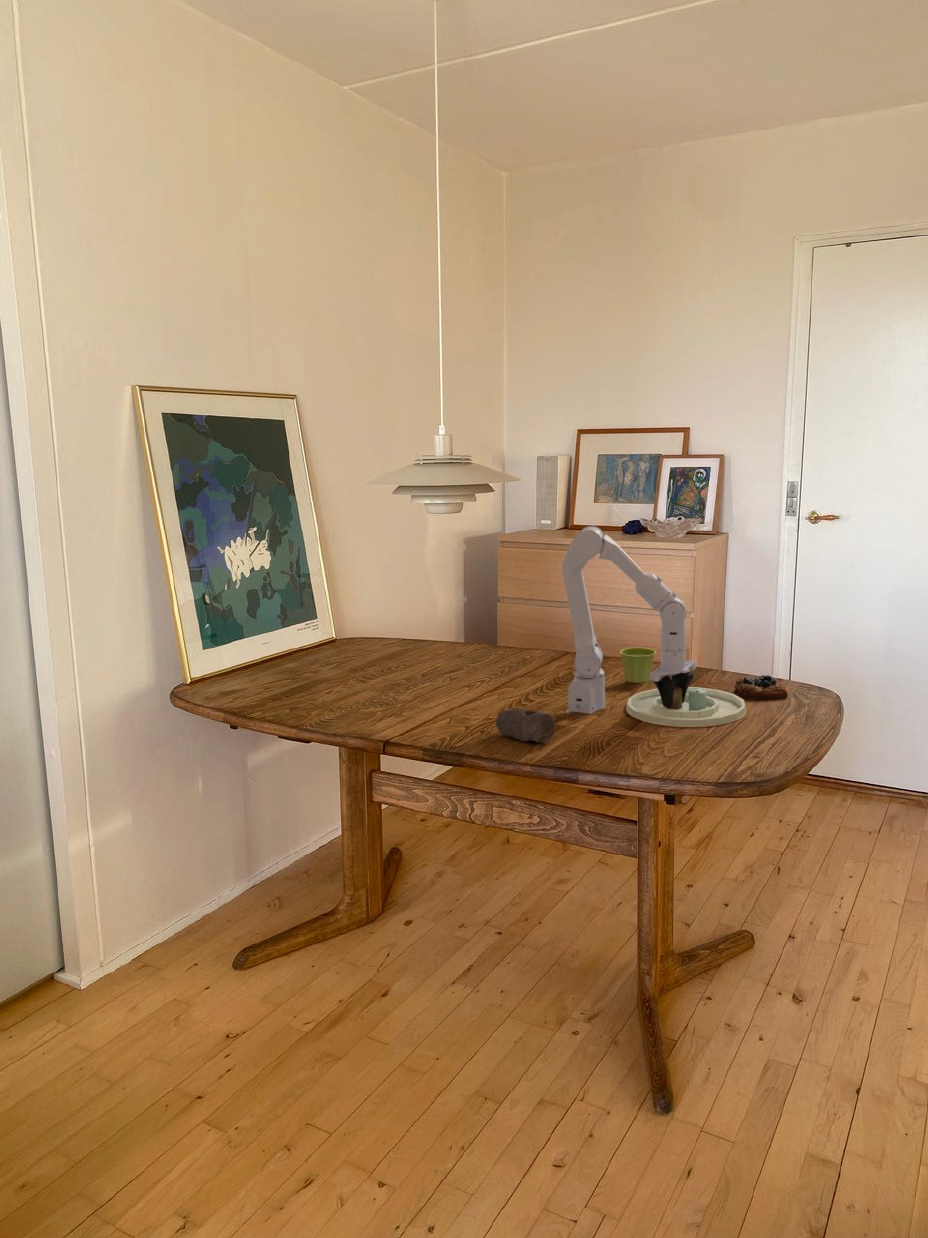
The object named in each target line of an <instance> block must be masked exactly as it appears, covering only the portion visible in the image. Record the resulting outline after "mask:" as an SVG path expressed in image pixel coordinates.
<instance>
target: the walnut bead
mask: <svg viewBox="0 0 928 1238" xmlns="http://www.w3.org/2000/svg"><path fill="white" fill-rule="evenodd" d="M665 708H667V709H680V708H682V688H681V687H676V686H675V688H674V692H673V703H672V707H670V708H669V707H665Z"/></svg>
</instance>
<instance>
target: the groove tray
mask: <svg viewBox="0 0 928 1238" xmlns="http://www.w3.org/2000/svg"><path fill="white" fill-rule="evenodd" d="M694 689H701V690H705V691H706V692H707V709H702V710H697V711H689V691H690V690H694ZM625 709H626V712H627V714H629V716H631V717H633V718H634V719H637V720H639V721H642V722H645V723H649V724H654V725H658V726H659V725H661V726H667V727H677V728H678V727H680V728H682V727H683V728H700V727H701V728H703V727H712V726H719V725H724V724H728V723H732V722H735V721H738V720H740V719H742V718H743V717H744V716H746V713H747V708H746V702H745V699H743V698H740V697H739V696H737V695H736V694H734V693H731V692H727V691H724V690H719V689H715V688H707V687H706V688H705V687H698V686H696V687H695V686H688V689H687V692H686V696H685V700H684V703H682V708H680V709H667V708H665V706H663V703H662V699H661V696H660V693H659V690H658V688H652V689H649V690H643V691H639V692H637V693H635V694H634V695H632V696H630V697H628V698H627V704H626V707H625Z"/></svg>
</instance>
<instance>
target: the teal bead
mask: <svg viewBox="0 0 928 1238" xmlns="http://www.w3.org/2000/svg"><path fill="white" fill-rule="evenodd" d="M702 709H707V692H706V691H705V690H701V689H694V690H690V691H689V711H697V710H702Z"/></svg>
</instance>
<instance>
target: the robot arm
mask: <svg viewBox="0 0 928 1238" xmlns="http://www.w3.org/2000/svg"><path fill="white" fill-rule="evenodd" d="M598 554H599V556H598V559H600V560H601V559H602V560H607V561H611V562H612V563H613V564H615V566H616V567H618V568H619V569H620V570H621V572H623V573H624V574H625V575H626V576H627V577H628V578H629V579H630V580H632V581H633V582H634V584H635V592H636V593H637V594H638V595H639V596H640V597H641V598H642V599H643V600H644V601H645V602H646V603H647V604H648V605H649V606H650V607H651V608H652V609H653V610H655V611H658V612H659V618H660V619H661V629H660V666H658V667H657V668H656V669H654V670H653V671H651V672H650V681H652V682H653V683H654V685H655V686H656V689H658V690H659V693H660V696H661V699H662V703H663V706H665V707H669V708H670V707H672V703H673V692H674V688H675V686H676V687H681V688H682V703H684V700H685V696H686V692H687V689H688V687H690V684H691V682H692V680H693V679H694V673H693V672H690V671H695V670H696V668H697V667H696V665H697V664H696V661H692V660H686V658H687V657H686V656H687V655H686V654H687V653H686V652H687V650H686V649H687V647H686V646H687V645H686V640H687V638H686V636H687V635H686V633H687V631H686V628H685V627H686V621H685V620H686V619H687V615H688V614H687V611H686V605H685V602H684V600H682V598H681V597H679V596H677V595H678V593H676V592H675V591H672V590H670V589H669V588H668V587H667V585H665V584H664V582H663V578H662V577H661V576H660V575H658V576H656V574H654V573H645V572H644V570H643V569H642V568H641V567H640V566H639V565H638V564H637V563H636V562H635V561H634V560H633V559H632V558H631V557H630V555H629V554H627V553H626V552H625V550H624V549H623V548H622V547H621V546H620V545H619V544H618V543H617V542H616V541H615V540H614V539H612V538H611V537H610V536H609V535H608V534H604V532H603V531H602V529H601V528H600V527H598V526H594V525H589V526H585V527H584V528H582V529H581V530H580V531H579V532H578V533H577V535H576V536H575V537H574V538H573V540H572V541H571V543H570V544H569V547H568V550H567V551H566V554H565V556H564V557H563V560H562V563H561V572H562V577H563V581H564V588H565V594H566V598H567V602H568V609H569V614H570V618H571V624H572V630H573V635H574V645H575V648H574V649H575V654H576V655H575V659H574V663H573V664H574V669H575V670H574V671H573V673H574V674H573V676H574V677H573V680H572V681H571V682H570V683H569V685H568V688H567V702H568V709H567V710H565V712H564V713H565V714H569V713H571V712H576V713H580V714H589V715H591V714H593V713H595V712H596V711H600V710H603V709H605V707H606V694H605V693H606V687H605V686H606V685H605V683H606V681H605V679H606V677H605V670H603V669H602V662H603V660H604V652H603V650H602V648H601V647H600V645H599V644H598V642H597V641H598V640H597V636H596V633H595V630H594V626H593V620H592V619H593V618H592V614H591V610H590V603H589V600H588V599H589V598H588V593H587V588H586V582H585V577H584V571H583V569H584V568H585V566H586V565H587V563H588V562H589V561H590V560H591V559H593V558H595V557H596V556H597V555H598Z"/></svg>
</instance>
